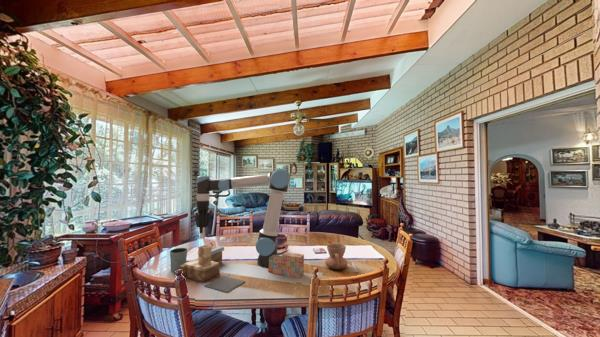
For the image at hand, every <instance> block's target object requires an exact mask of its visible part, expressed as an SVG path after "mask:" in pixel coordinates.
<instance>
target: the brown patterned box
mask: <svg viewBox="0 0 600 337" xmlns="http://www.w3.org/2000/svg"><path fill="white" fill-rule="evenodd" d="M304 262H305V254H303V253H298V252H289V251H285V252H283V253H282V254H281V255H279V254H278V255H272V256H270V257H269V267H268V273H271V274H274V275H275V274H277V275H280V276H285V277H291V278H294V279H295V278H296V279H301V278H302V276H304V269H305V266H304V265H305V263H304Z"/></svg>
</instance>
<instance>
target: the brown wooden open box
mask: <svg viewBox="0 0 600 337" xmlns="http://www.w3.org/2000/svg"><path fill="white" fill-rule="evenodd" d="M211 261H214V262H219V265H217V266H215V267H213V268H211V269H208V270H206V271H200V270H196V269H192V268H188V267H186V265H180V266H179V269H182V271H183V273H182V275H183V276H184V277H185V278H186V279H188V278H189V280H193V281H196V282H199V283H206V282H208V281H210V280H213V279H214V278H215V279H216V277H218V276H220V273H221V271H220V270H221V264H222V263H223V251H221V252H219V253H216V254H213V255H211Z"/></svg>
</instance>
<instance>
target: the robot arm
mask: <svg viewBox="0 0 600 337" xmlns="http://www.w3.org/2000/svg"><path fill="white" fill-rule="evenodd" d="M290 181H291V175H290V173H289V172H288V171H287V170H285V169H282V168H279V169H275V170H274V171H272V172H268V173H266V174H265V173H264V174H257V175H249V176H247V175H246V176H240V177H239V176H237V177H229V178H214V179H213V178H210V176H209V175H199V176H197V177H196V211H194V212H193V214H192V215H193V216H194V220H195V226H196V227H197V228H198V230H199V232H198V233H199V237H200V239H205V238H206V231H207V227H208V226H209V224H210V219H211V214H212V209H210V208H209V207H210V192H226V191H229V190H235V189H243V188H252V187H253V188H255V187H262V186H269V187H268V189H269V191H270V194H269V199H268V202H267V208H266V211H265V217H264V220H263V221H264V222H263V224H262V225H263V226H262V228H261V229H260V230H259V232H258V233H259V234H258V237H257V241H256V243H255V250H256V252H257V254H258V257H257V260H256V262H257V265H258V266H259V267H264V268H269V257H270V256H272V255H279V254H278V229H277V228H278V224H279V223H278V222H279V220H280V216H281V211H282V210H281V209H282V205H283V200H284V197H285V194H286V193H288V190H289V185H290Z"/></svg>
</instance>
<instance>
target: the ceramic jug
mask: <svg viewBox="0 0 600 337" xmlns="http://www.w3.org/2000/svg"><path fill="white" fill-rule="evenodd" d="M346 247H347V246H346V245H345V244H343V243H336V242H335V243H334V242H333V243H328V244H327V245H326V249H327V252H328V255H329V257H327V258H326V259H325V262H324V263H325V266H326V267H327V268H330V269H332V270H338V271H339V270H344V269H346V268H347V266H348V265H349V264H348V261H347V259H345V258H344V255H345V252H346Z"/></svg>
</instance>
